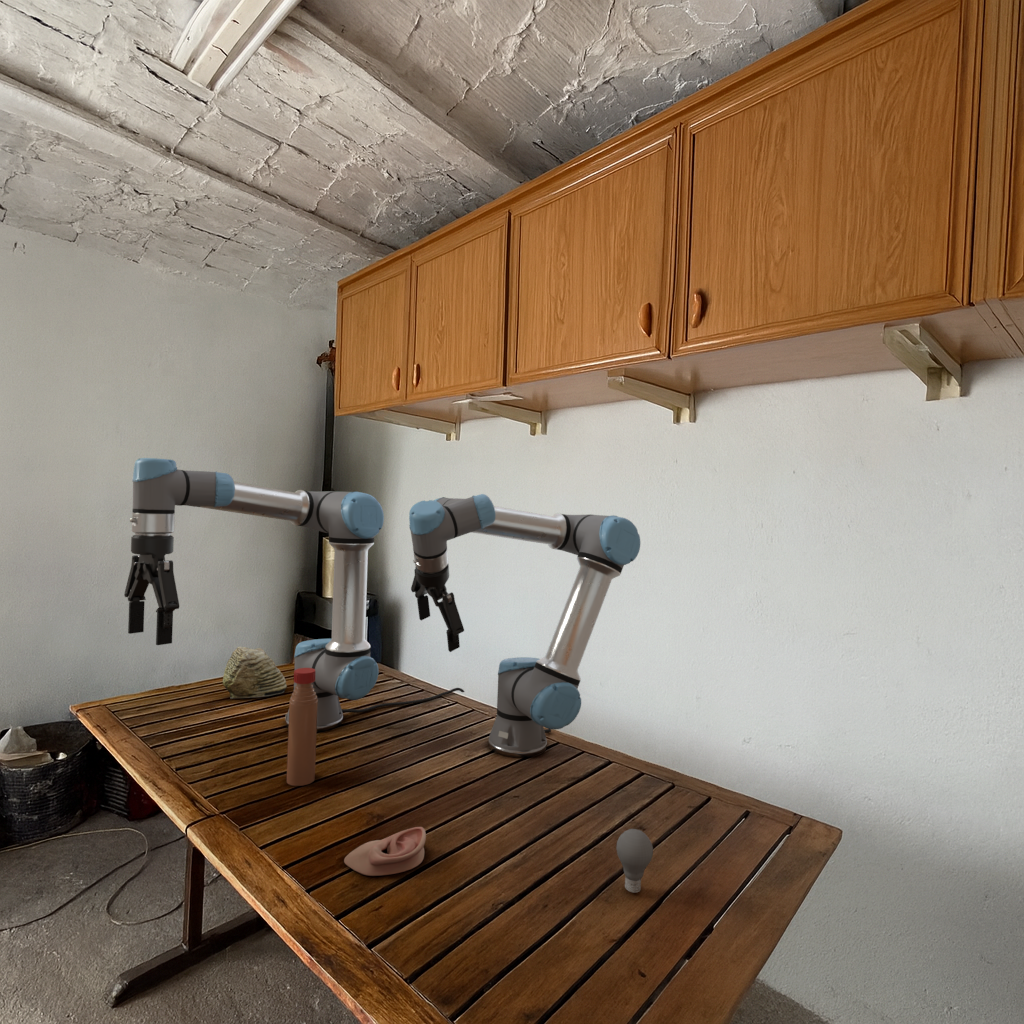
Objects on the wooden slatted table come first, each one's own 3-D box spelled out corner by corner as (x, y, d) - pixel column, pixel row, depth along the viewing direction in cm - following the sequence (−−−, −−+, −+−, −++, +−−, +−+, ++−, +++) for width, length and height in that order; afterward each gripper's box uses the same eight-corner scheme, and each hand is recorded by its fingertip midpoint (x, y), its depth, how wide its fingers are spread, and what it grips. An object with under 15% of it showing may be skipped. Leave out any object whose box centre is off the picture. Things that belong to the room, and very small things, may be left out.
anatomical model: (336, 847, 108) (365, 815, 119) (335, 870, 108) (364, 836, 119) (410, 859, 105) (432, 825, 116) (409, 883, 105) (431, 846, 116)
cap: (289, 680, 141) (290, 669, 141) (309, 677, 144) (309, 666, 144) (299, 685, 138) (299, 674, 137) (319, 681, 141) (319, 671, 141)
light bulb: (610, 879, 108) (613, 822, 108) (644, 879, 109) (647, 822, 109) (619, 902, 102) (622, 840, 102) (655, 901, 103) (658, 840, 103)
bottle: (281, 779, 141) (285, 671, 141) (306, 771, 145) (310, 667, 145) (294, 788, 137) (298, 677, 136) (319, 780, 141) (323, 673, 141)
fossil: (218, 695, 195) (220, 647, 195) (278, 685, 208) (279, 640, 207) (228, 703, 189) (230, 653, 188) (289, 692, 201) (290, 645, 201)
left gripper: (108, 530, 134) (105, 630, 134) (159, 539, 118) (156, 652, 118) (147, 530, 139) (143, 626, 140) (200, 538, 124) (196, 646, 124)
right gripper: (390, 544, 150) (400, 611, 162) (447, 600, 133) (453, 670, 145) (418, 533, 154) (426, 599, 165) (476, 586, 137) (480, 655, 149)
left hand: (149, 638), depth 129 cm, fingers open, 13 cm apart
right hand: (439, 632), depth 155 cm, fingers open, 13 cm apart
